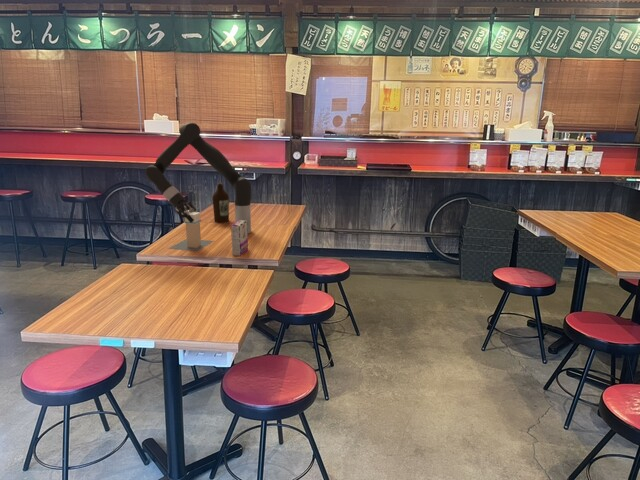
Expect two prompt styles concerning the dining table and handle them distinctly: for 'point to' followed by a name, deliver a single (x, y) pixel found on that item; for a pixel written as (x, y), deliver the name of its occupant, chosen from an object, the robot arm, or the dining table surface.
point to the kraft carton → (193, 235)
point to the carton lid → (195, 216)
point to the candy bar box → (239, 237)
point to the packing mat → (183, 246)
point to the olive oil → (221, 204)
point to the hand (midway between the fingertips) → (195, 220)
